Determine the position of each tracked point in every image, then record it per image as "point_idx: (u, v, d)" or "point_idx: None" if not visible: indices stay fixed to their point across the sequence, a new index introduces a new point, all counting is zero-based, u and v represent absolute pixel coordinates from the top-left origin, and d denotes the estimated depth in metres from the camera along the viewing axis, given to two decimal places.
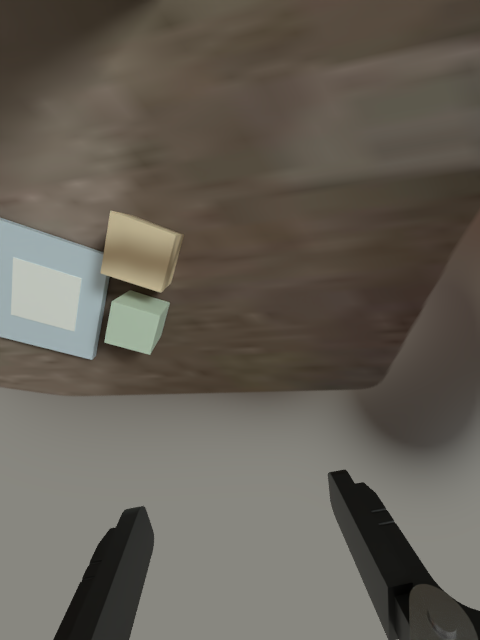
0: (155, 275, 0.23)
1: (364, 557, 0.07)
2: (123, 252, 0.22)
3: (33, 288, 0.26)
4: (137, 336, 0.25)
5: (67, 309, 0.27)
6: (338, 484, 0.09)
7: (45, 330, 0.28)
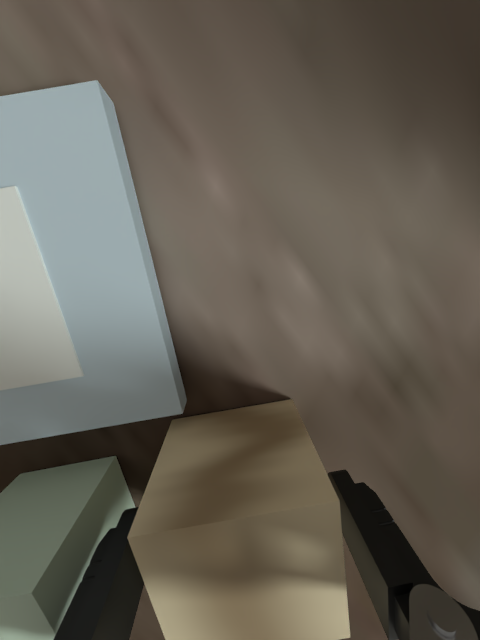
0: None
1: (364, 557, 0.07)
2: (233, 564, 0.07)
3: None
4: None
5: None
6: (338, 484, 0.09)
7: None
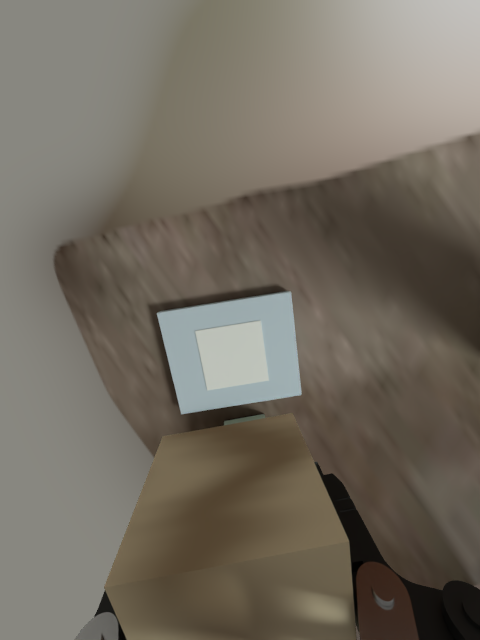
0: None
1: None
2: (227, 613, 0.06)
3: (236, 343, 0.24)
4: None
5: (229, 378, 0.25)
6: None
7: (192, 365, 0.25)
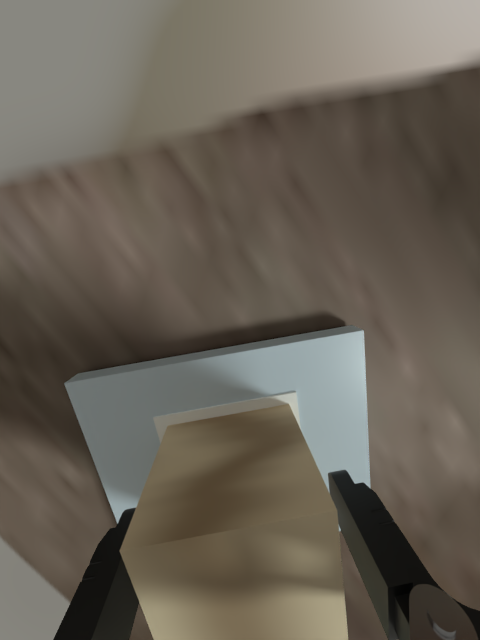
0: None
1: (364, 557, 0.07)
2: (229, 576, 0.07)
3: None
4: None
5: None
6: (338, 484, 0.09)
7: None
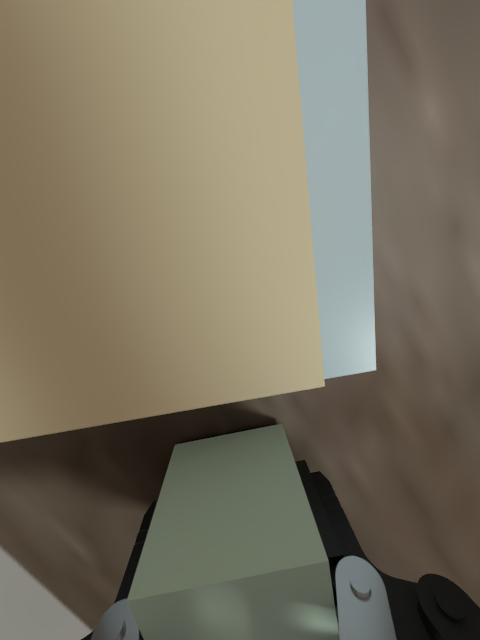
0: None
1: None
2: None
3: None
4: None
5: None
6: None
7: None
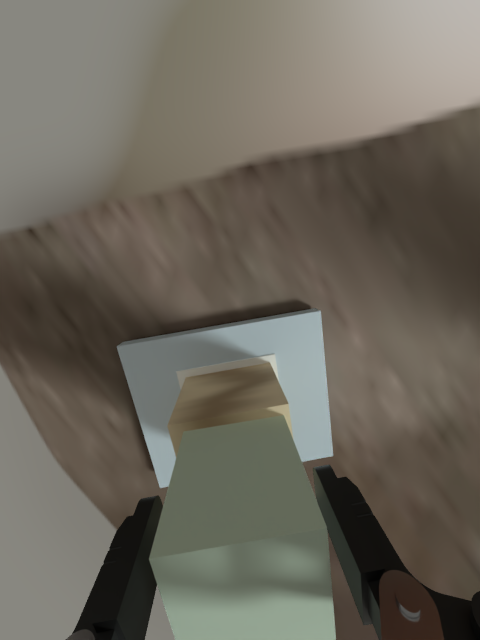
0: None
1: (342, 547, 0.07)
2: None
3: None
4: (234, 623, 0.07)
5: None
6: (321, 478, 0.09)
7: None
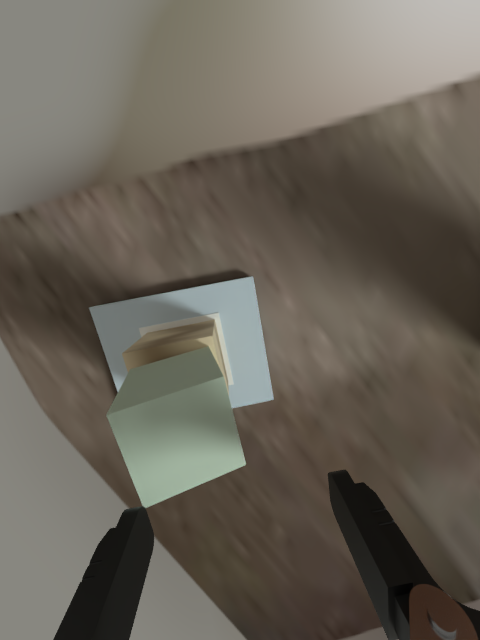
0: None
1: (364, 557, 0.07)
2: None
3: None
4: (174, 460, 0.10)
5: None
6: (338, 484, 0.09)
7: None
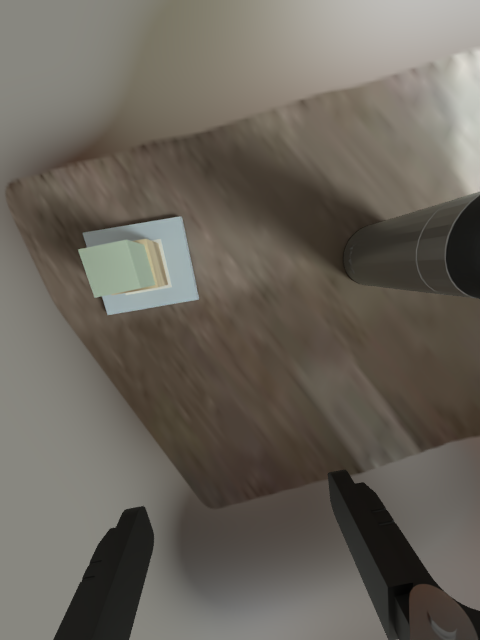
0: None
1: (364, 557, 0.07)
2: None
3: None
4: (106, 277, 0.24)
5: None
6: (338, 484, 0.09)
7: None
